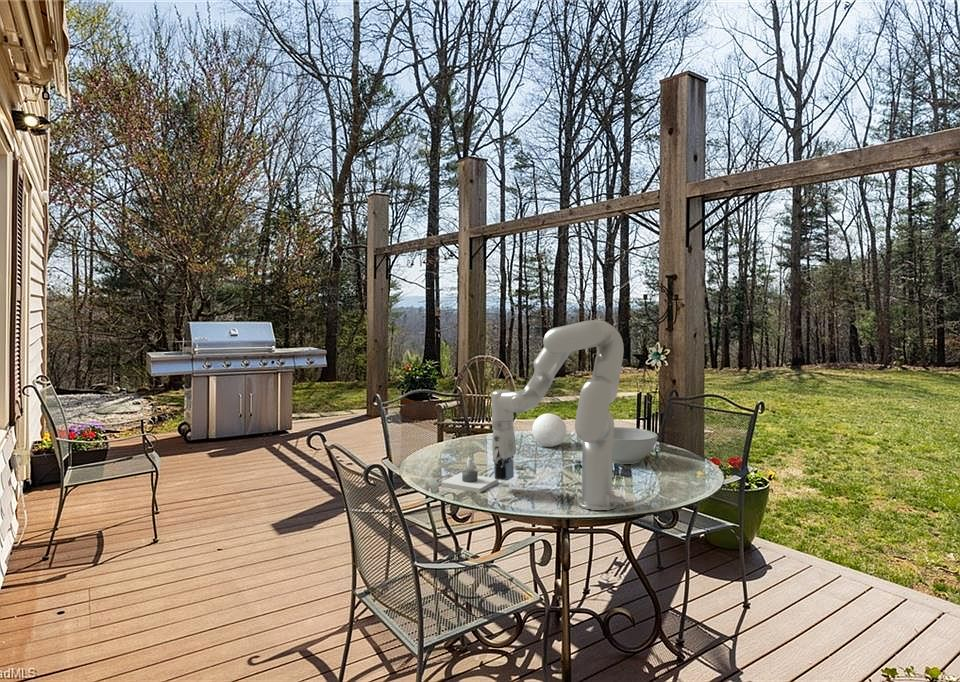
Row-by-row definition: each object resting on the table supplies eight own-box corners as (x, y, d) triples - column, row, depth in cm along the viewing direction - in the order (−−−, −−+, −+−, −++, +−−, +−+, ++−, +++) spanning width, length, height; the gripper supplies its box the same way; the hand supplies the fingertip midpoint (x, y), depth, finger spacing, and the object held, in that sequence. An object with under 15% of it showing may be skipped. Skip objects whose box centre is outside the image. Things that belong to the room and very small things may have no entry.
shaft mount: (498, 482, 201) (498, 456, 201) (479, 492, 189) (479, 465, 188) (460, 476, 209) (460, 451, 208) (441, 486, 196) (441, 459, 196)
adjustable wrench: (522, 471, 219) (522, 466, 219) (506, 471, 218) (506, 467, 218) (510, 455, 244) (510, 451, 243) (495, 455, 243) (495, 451, 243)
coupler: (513, 477, 193) (513, 457, 193) (507, 480, 188) (507, 460, 188) (501, 475, 195) (500, 456, 195) (494, 479, 191) (494, 459, 191)
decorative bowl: (580, 460, 234) (580, 432, 234) (616, 450, 252) (616, 424, 252) (634, 473, 214) (634, 442, 214) (669, 462, 232) (670, 433, 232)
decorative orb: (530, 450, 251) (531, 416, 251) (524, 442, 269) (524, 410, 268) (573, 450, 253) (573, 416, 252) (564, 441, 270) (564, 409, 270)
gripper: (501, 429, 182) (503, 483, 183) (522, 421, 197) (523, 471, 197) (481, 428, 186) (483, 481, 186) (503, 420, 201) (505, 469, 201)
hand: (504, 475), depth 192 cm, fingers closed on coupler, 5 cm apart
